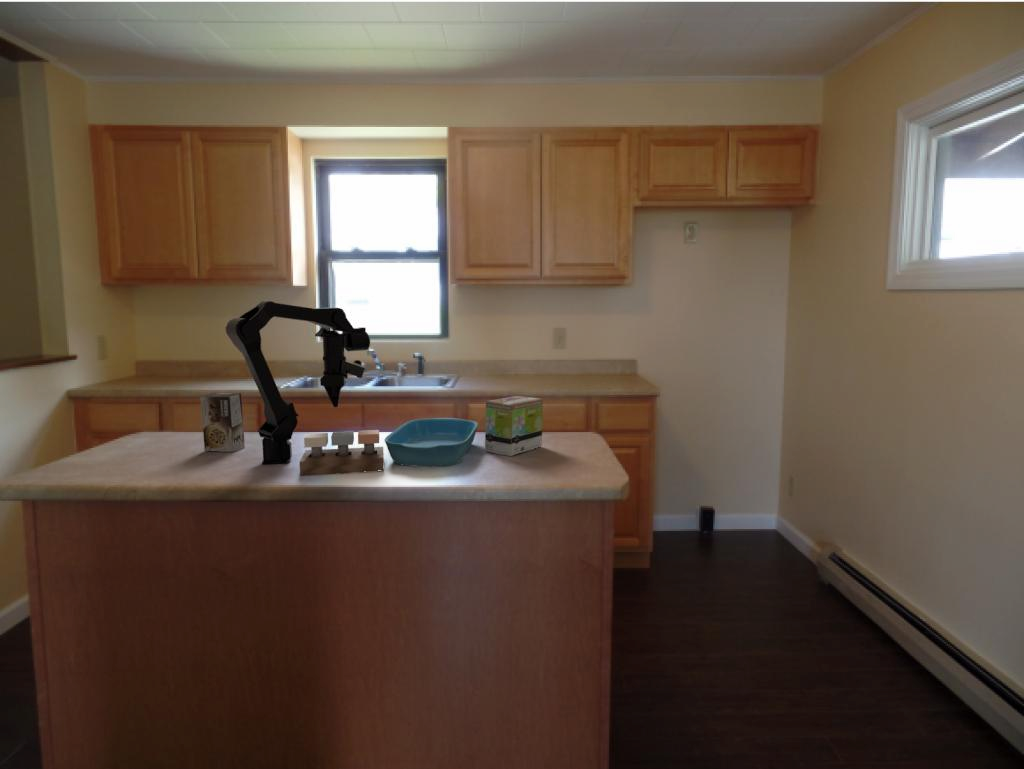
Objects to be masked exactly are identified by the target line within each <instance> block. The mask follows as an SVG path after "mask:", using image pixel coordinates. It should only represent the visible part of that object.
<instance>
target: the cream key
mask: <svg viewBox="0 0 1024 769" xmlns="http://www.w3.org/2000/svg"><path fill="white" fill-rule="evenodd" d="M328 443H329V433H328V432H319V433H318V432H317V433H316V432H313V433H306V434H305V435H304V437H303V444H304V448H311V449H310V450H311V451H312V457H322V450H323V447H324V448H325V447H327V445H328Z"/></svg>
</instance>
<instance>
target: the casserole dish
mask: <svg viewBox="0 0 1024 769" xmlns="http://www.w3.org/2000/svg"><path fill="white" fill-rule="evenodd" d="M478 425H479V424H478V422H477V421H475V420H471V419H470V420H469V419H462V418H456V417H455V418H454V417H430V418H417V419H413V420H409V421H407V422H405V423H403V424H402V425H400V426H399V427H397V428H396V429H395V430H393V431H392V432H391V433H389V434H388V435H386V437H385V438H384V443H385V445H386V447H387V450H388V453H389V456H390V457H391V459H392V461H393V462H395V463H396V464H397V463H398V464H397V465H399V464H403V465H402V466H406V465H422V466H421V467H447V466H449V467H450V466H453V465H455V464H457V463H458V462H460V461H461V460H462V459H463V457H465V455H466V454H467V452H468V450H469V449H470V447H471V446H472V444H473V442H474V440H475V436H476V432H477V429H478Z"/></svg>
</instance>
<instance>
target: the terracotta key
mask: <svg viewBox="0 0 1024 769" xmlns="http://www.w3.org/2000/svg"><path fill="white" fill-rule="evenodd" d="M357 444H358V445H363V448H364V455H369V454H375V452H374V447H375V444H380V430H379V429H367V430H358V432H357Z"/></svg>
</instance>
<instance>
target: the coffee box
mask: <svg viewBox="0 0 1024 769" xmlns="http://www.w3.org/2000/svg"><path fill="white" fill-rule="evenodd" d="M199 398H200V399H199V400H200V410H201V422H202V431H203V432H202V433H203V445H204V452H208V451H219V452H221V453H222V452H226V453H227V452H228V453H229V452H230V453H234V451H235V452H237V451H239V450H243V448H244V449H245V447H246V446H245V431H244V416H243V404H242V403H243V402H242V393H239V392H236V393H235V392H212V393H207V394H205V395H201V396H199Z"/></svg>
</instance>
